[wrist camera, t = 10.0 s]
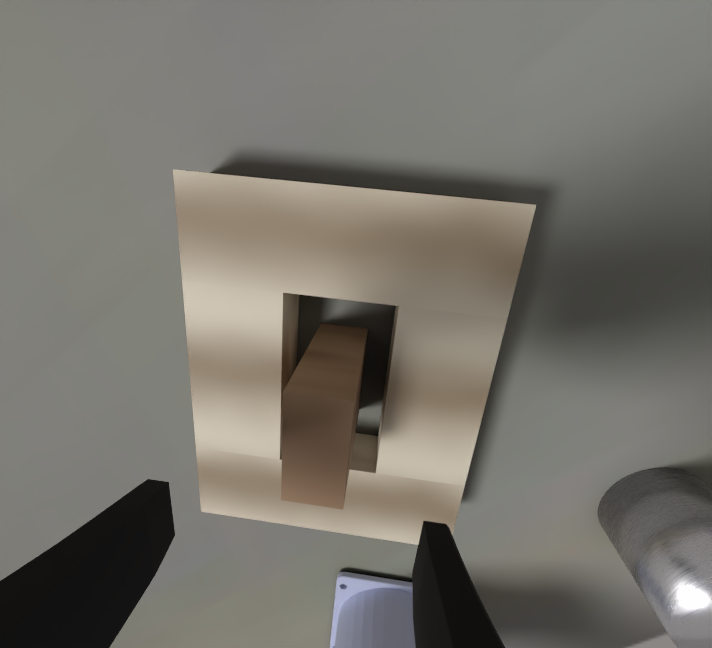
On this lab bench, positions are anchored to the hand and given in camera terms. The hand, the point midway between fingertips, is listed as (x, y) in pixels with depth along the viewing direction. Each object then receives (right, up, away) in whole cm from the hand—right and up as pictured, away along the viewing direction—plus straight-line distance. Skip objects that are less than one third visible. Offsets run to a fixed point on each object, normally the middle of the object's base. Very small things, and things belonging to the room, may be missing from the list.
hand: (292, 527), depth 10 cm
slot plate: (+1, +4, +10) cm, 10 cm away
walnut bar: (+1, +3, +10) cm, 10 cm away
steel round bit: (+19, -5, +11) cm, 23 cm away
